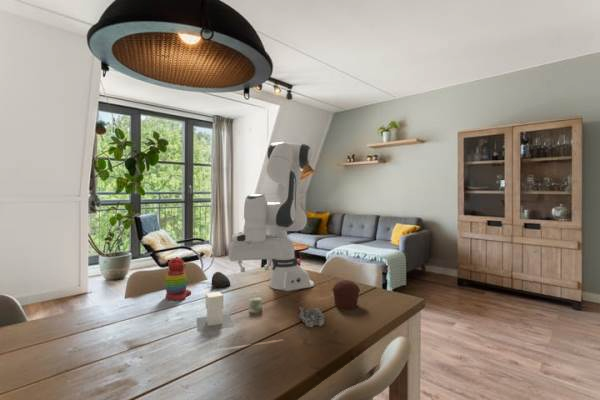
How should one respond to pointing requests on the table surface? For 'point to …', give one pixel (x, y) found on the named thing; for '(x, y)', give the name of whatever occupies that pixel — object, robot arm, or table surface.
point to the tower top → (214, 301)
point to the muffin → (346, 294)
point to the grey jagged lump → (312, 317)
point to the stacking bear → (176, 280)
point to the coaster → (204, 326)
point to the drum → (255, 305)
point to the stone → (219, 280)
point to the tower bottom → (214, 317)
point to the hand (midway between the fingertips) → (254, 270)
